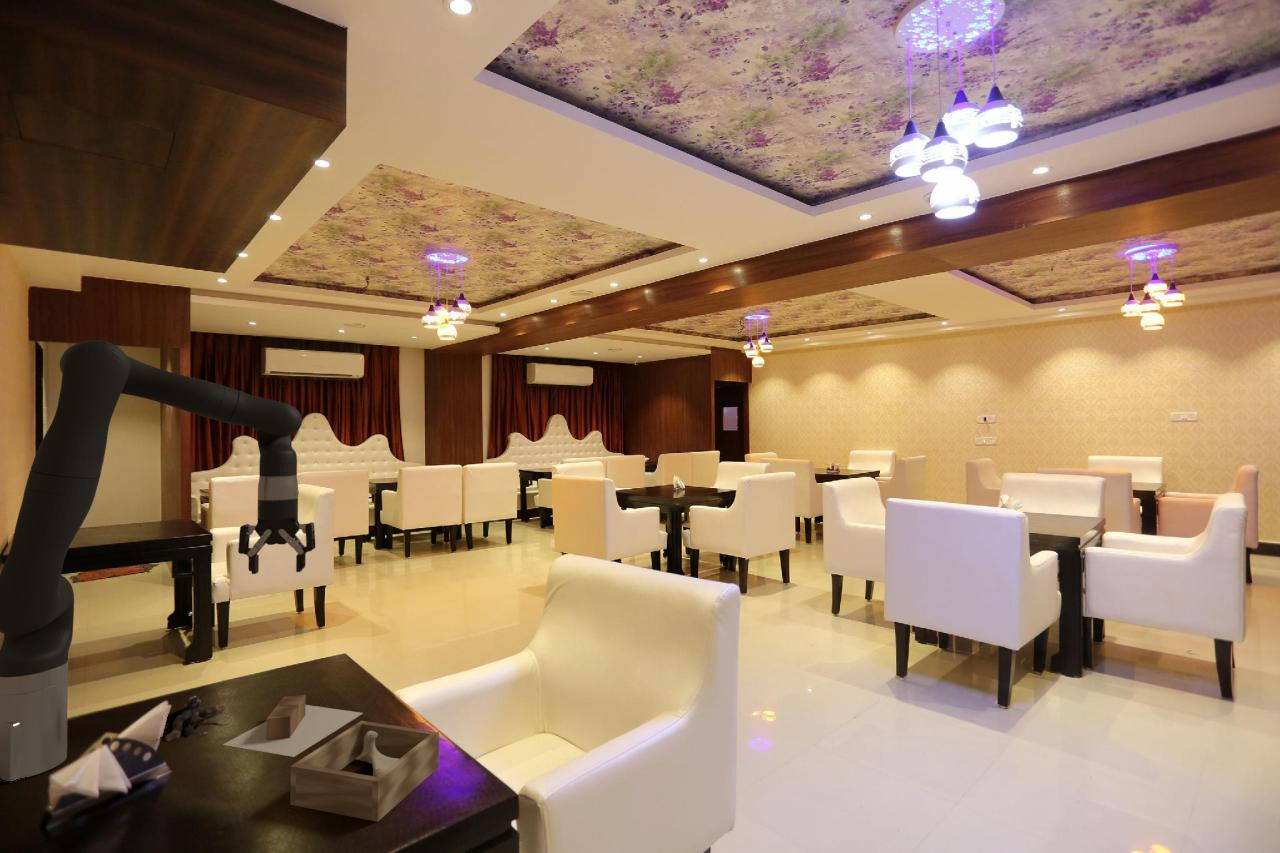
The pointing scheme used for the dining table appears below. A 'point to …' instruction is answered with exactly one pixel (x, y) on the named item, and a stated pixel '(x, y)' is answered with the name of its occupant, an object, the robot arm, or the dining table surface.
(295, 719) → the walnut block
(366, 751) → the bone
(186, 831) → the dining table surface
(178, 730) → the dark grey knobby piece
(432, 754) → the bone crate
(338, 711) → the mat
